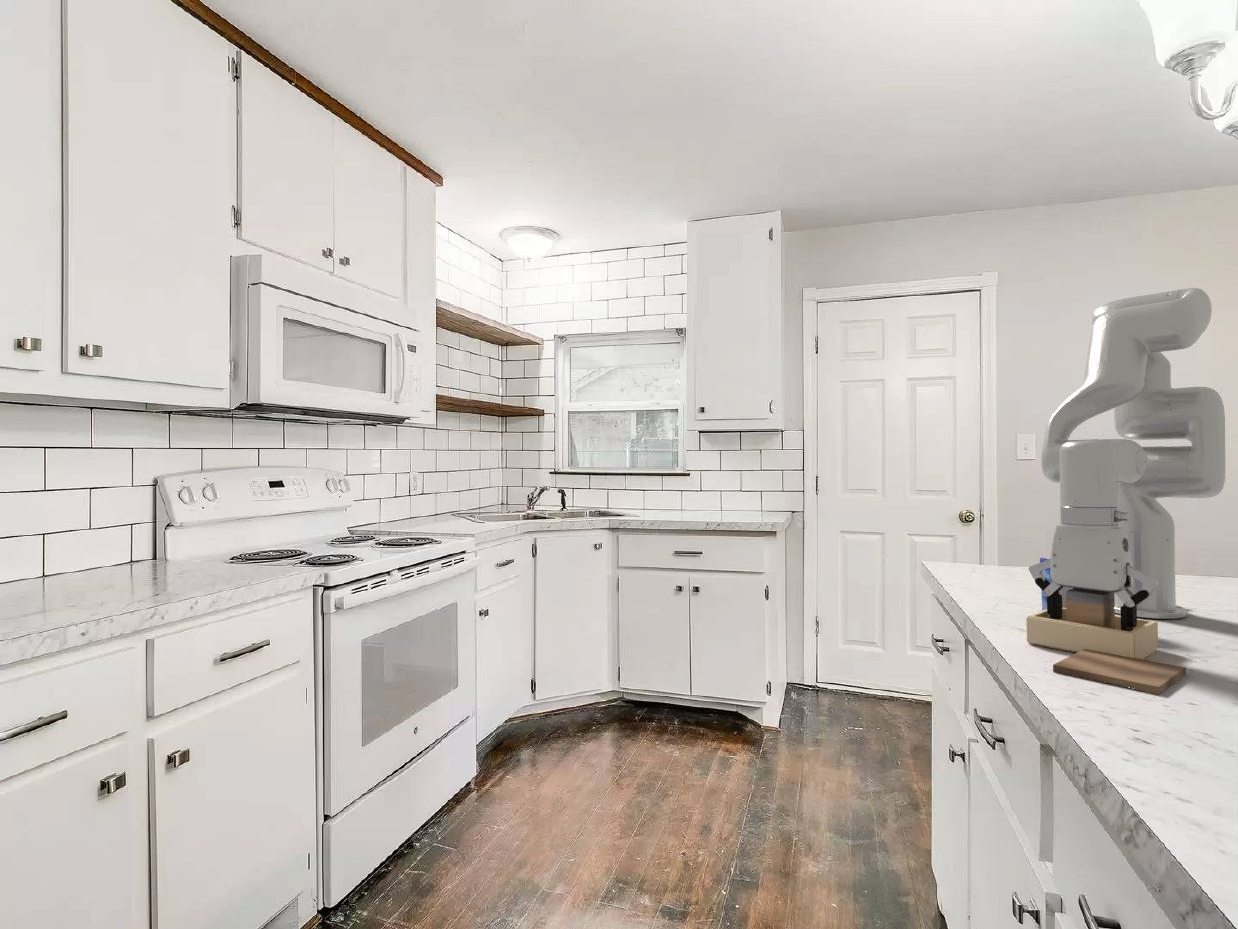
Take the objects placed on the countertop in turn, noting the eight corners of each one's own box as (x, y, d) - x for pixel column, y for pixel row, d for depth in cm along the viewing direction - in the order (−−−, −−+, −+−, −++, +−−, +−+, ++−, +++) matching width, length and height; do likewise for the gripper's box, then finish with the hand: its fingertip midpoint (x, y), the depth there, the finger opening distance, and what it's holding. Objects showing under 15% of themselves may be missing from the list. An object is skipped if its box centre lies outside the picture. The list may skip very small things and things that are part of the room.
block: (1079, 641, 108) (1078, 586, 108) (1115, 647, 104) (1114, 591, 104) (1067, 646, 106) (1065, 590, 105) (1103, 653, 101) (1102, 595, 101)
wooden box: (1055, 631, 114) (1054, 606, 114) (1158, 649, 103) (1157, 621, 103) (1026, 644, 107) (1026, 616, 107) (1133, 664, 96) (1132, 634, 96)
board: (1085, 655, 101) (1085, 648, 101) (1185, 674, 91) (1185, 667, 91) (1053, 671, 94) (1053, 664, 94) (1158, 694, 84) (1158, 687, 84)
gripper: (1164, 519, 100) (1166, 631, 100) (1038, 513, 114) (1040, 612, 114) (1148, 523, 96) (1150, 640, 96) (1019, 516, 109) (1021, 619, 110)
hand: (1090, 625), depth 105 cm, fingers open, 9 cm apart
